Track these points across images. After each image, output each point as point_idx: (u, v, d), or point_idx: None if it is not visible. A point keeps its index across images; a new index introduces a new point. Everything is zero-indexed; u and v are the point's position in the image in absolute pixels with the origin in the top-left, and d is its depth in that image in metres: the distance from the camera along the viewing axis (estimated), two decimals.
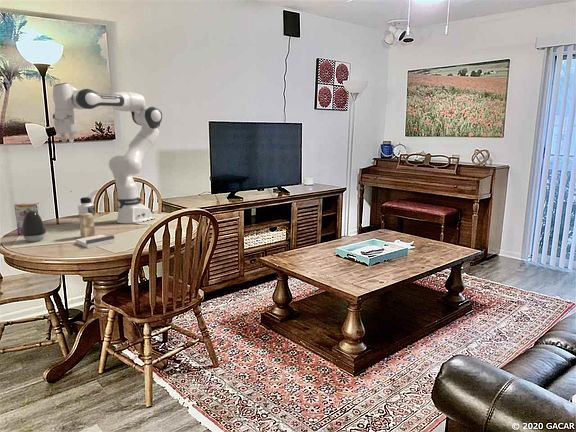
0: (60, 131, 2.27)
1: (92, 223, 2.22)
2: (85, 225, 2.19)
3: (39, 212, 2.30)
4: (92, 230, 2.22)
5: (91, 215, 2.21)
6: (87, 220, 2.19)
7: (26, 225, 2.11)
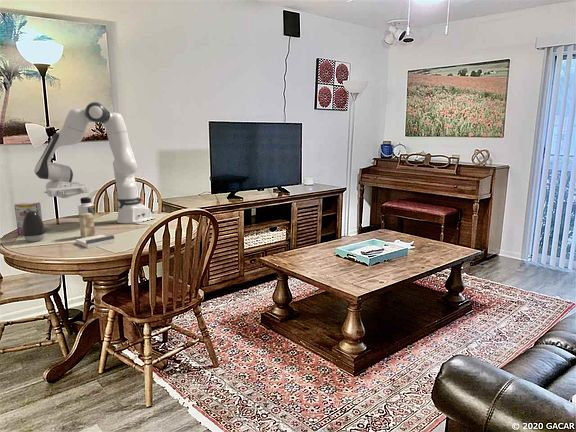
0: (76, 193, 2.33)
1: (92, 223, 2.22)
2: (85, 225, 2.19)
3: (39, 212, 2.30)
4: (92, 230, 2.22)
5: (91, 215, 2.21)
6: (87, 220, 2.19)
7: (26, 225, 2.11)
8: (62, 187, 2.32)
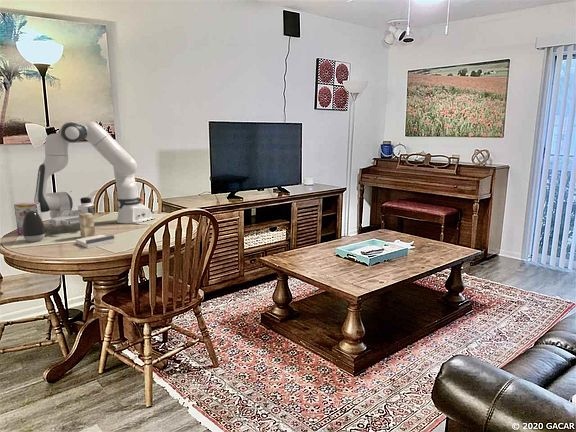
0: None
1: (92, 223, 2.22)
2: (85, 225, 2.19)
3: (39, 212, 2.30)
4: (92, 230, 2.22)
5: (91, 215, 2.21)
6: (87, 220, 2.19)
7: (26, 225, 2.11)
8: (66, 216, 2.35)
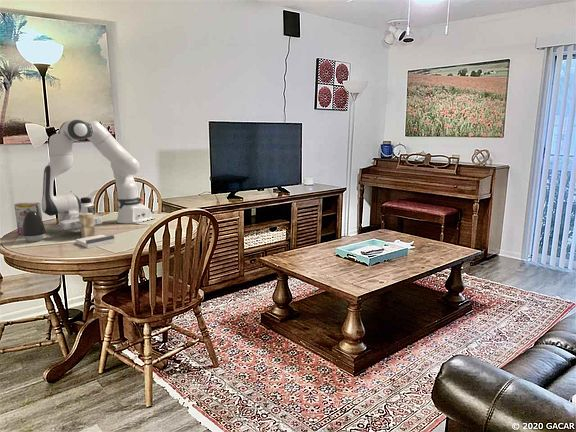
0: None
1: (92, 223, 2.22)
2: (85, 225, 2.19)
3: (39, 212, 2.30)
4: (92, 230, 2.22)
5: (91, 215, 2.21)
6: (87, 220, 2.19)
7: (26, 225, 2.11)
8: (75, 219, 2.27)
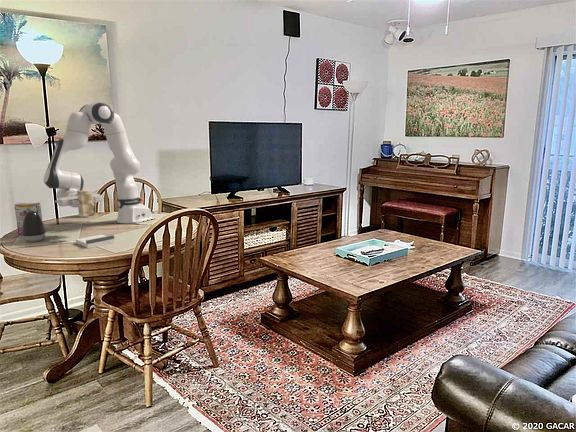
0: None
1: (90, 200, 2.16)
2: (83, 202, 2.13)
3: (39, 212, 2.30)
4: (90, 207, 2.16)
5: (89, 192, 2.15)
6: (85, 196, 2.14)
7: (26, 225, 2.11)
8: (73, 196, 2.21)
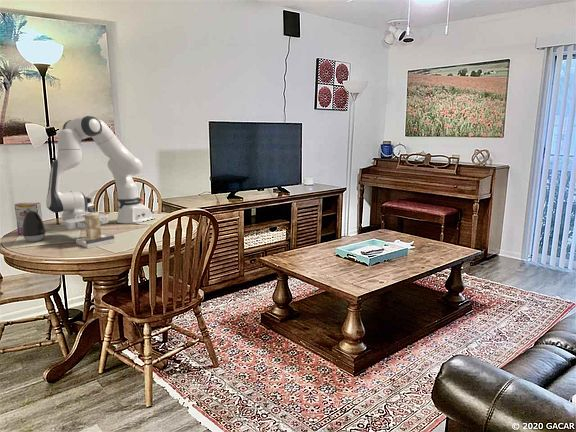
0: None
1: (98, 224, 2.10)
2: (90, 227, 2.07)
3: (39, 212, 2.30)
4: (98, 231, 2.10)
5: (97, 216, 2.09)
6: (93, 221, 2.08)
7: (26, 225, 2.11)
8: (80, 218, 2.15)
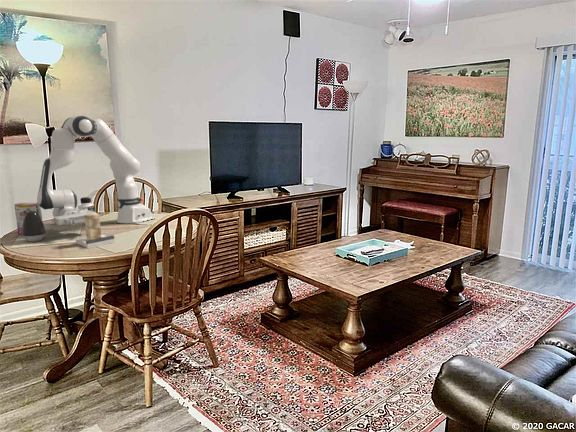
0: None
1: (98, 224, 2.10)
2: (90, 227, 2.07)
3: (39, 212, 2.30)
4: (98, 231, 2.10)
5: (97, 216, 2.09)
6: (93, 221, 2.08)
7: (26, 225, 2.11)
8: (70, 214, 2.23)
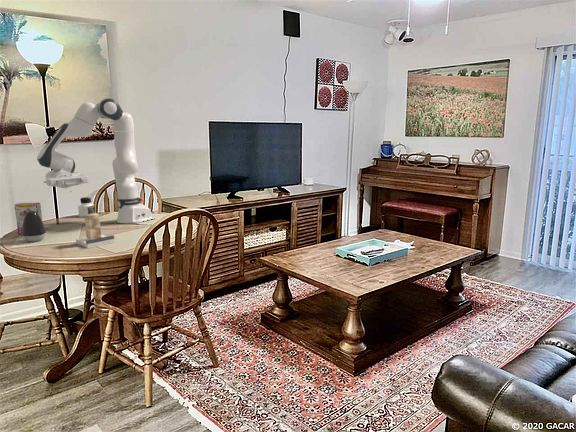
0: (76, 183, 2.29)
1: (98, 224, 2.10)
2: (90, 227, 2.07)
3: (39, 212, 2.30)
4: (98, 231, 2.10)
5: (97, 216, 2.09)
6: (93, 221, 2.08)
7: (26, 225, 2.11)
8: (62, 177, 2.27)
